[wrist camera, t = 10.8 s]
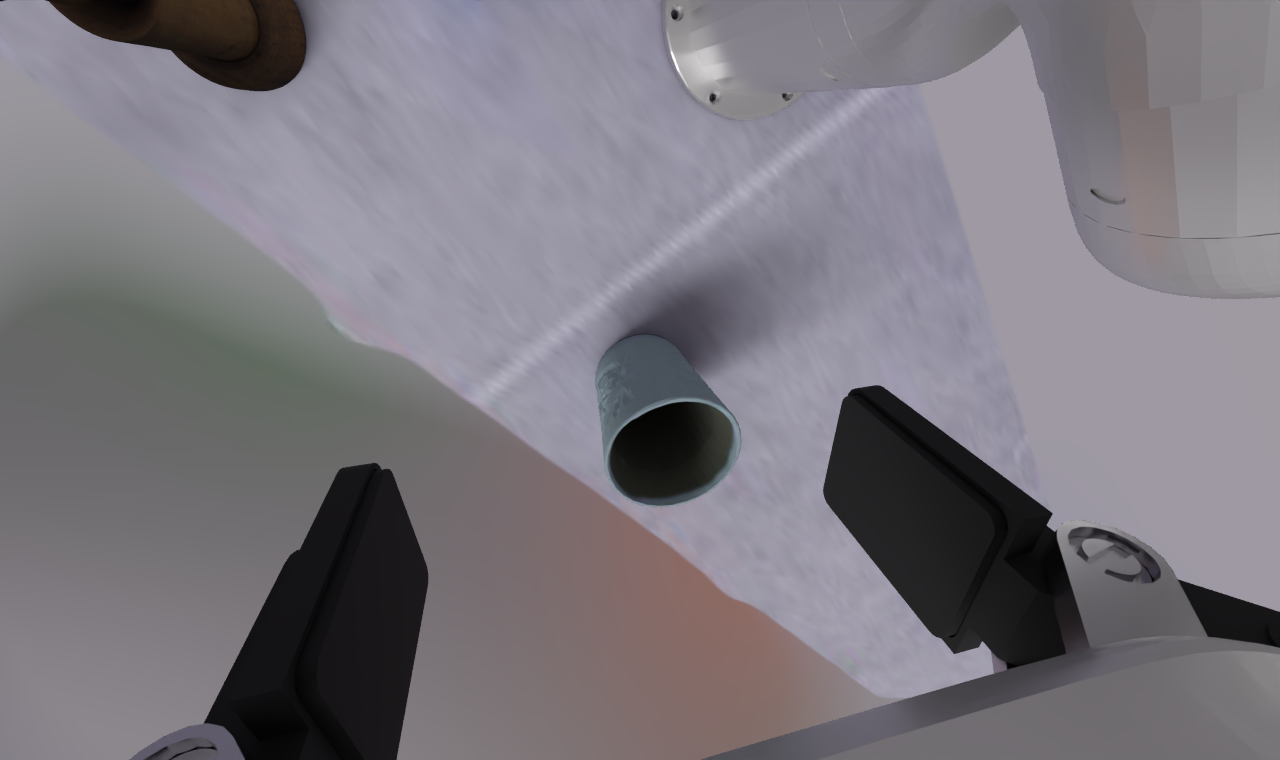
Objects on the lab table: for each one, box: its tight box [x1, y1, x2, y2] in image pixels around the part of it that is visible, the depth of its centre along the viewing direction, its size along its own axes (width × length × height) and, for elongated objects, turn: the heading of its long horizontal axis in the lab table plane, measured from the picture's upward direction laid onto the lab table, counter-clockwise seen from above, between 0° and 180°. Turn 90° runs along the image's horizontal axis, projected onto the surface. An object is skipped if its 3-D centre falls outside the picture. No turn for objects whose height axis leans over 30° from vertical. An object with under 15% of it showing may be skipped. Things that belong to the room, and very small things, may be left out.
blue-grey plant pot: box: [596, 334, 741, 507], centre depth 39 cm, size 10×10×12 cm
